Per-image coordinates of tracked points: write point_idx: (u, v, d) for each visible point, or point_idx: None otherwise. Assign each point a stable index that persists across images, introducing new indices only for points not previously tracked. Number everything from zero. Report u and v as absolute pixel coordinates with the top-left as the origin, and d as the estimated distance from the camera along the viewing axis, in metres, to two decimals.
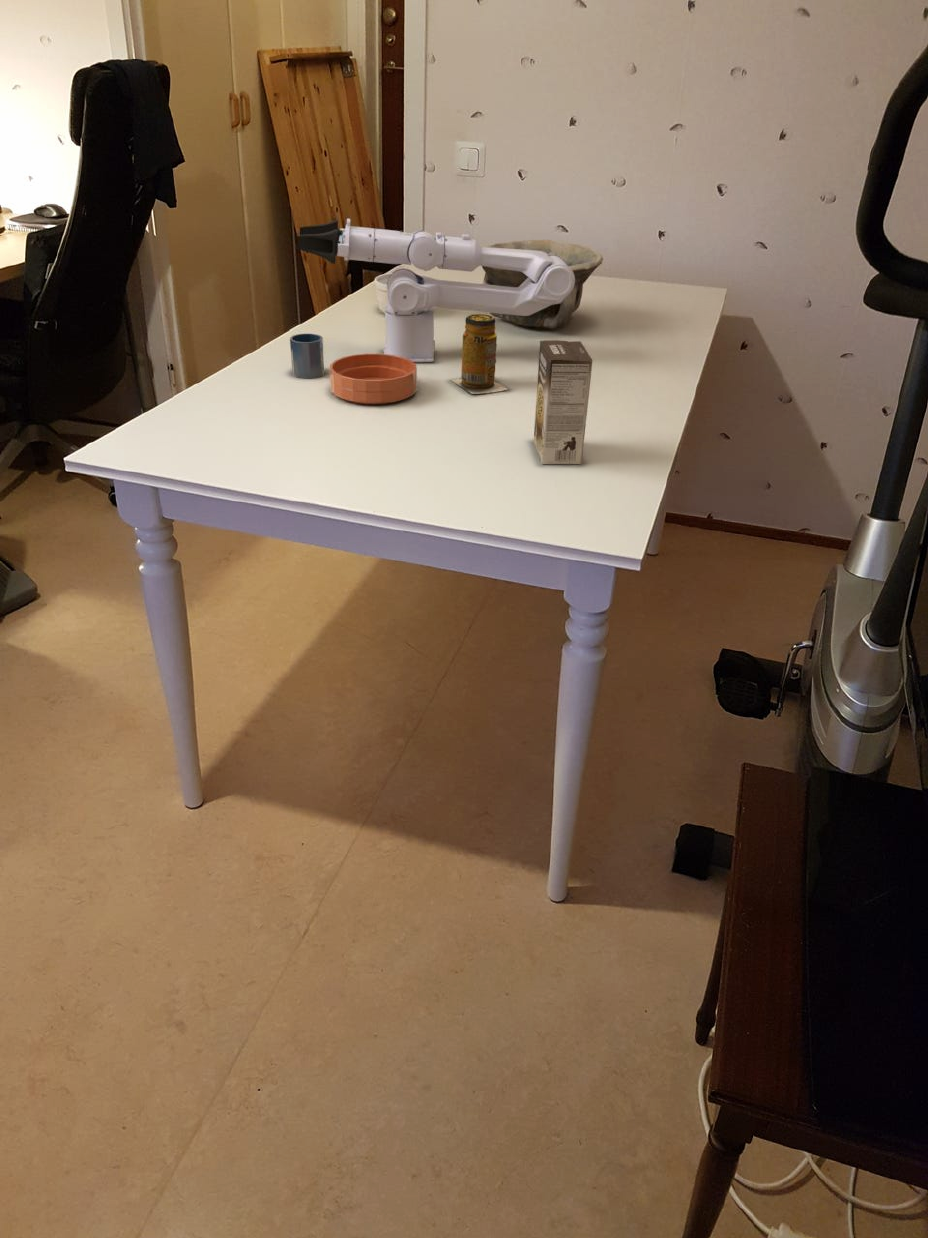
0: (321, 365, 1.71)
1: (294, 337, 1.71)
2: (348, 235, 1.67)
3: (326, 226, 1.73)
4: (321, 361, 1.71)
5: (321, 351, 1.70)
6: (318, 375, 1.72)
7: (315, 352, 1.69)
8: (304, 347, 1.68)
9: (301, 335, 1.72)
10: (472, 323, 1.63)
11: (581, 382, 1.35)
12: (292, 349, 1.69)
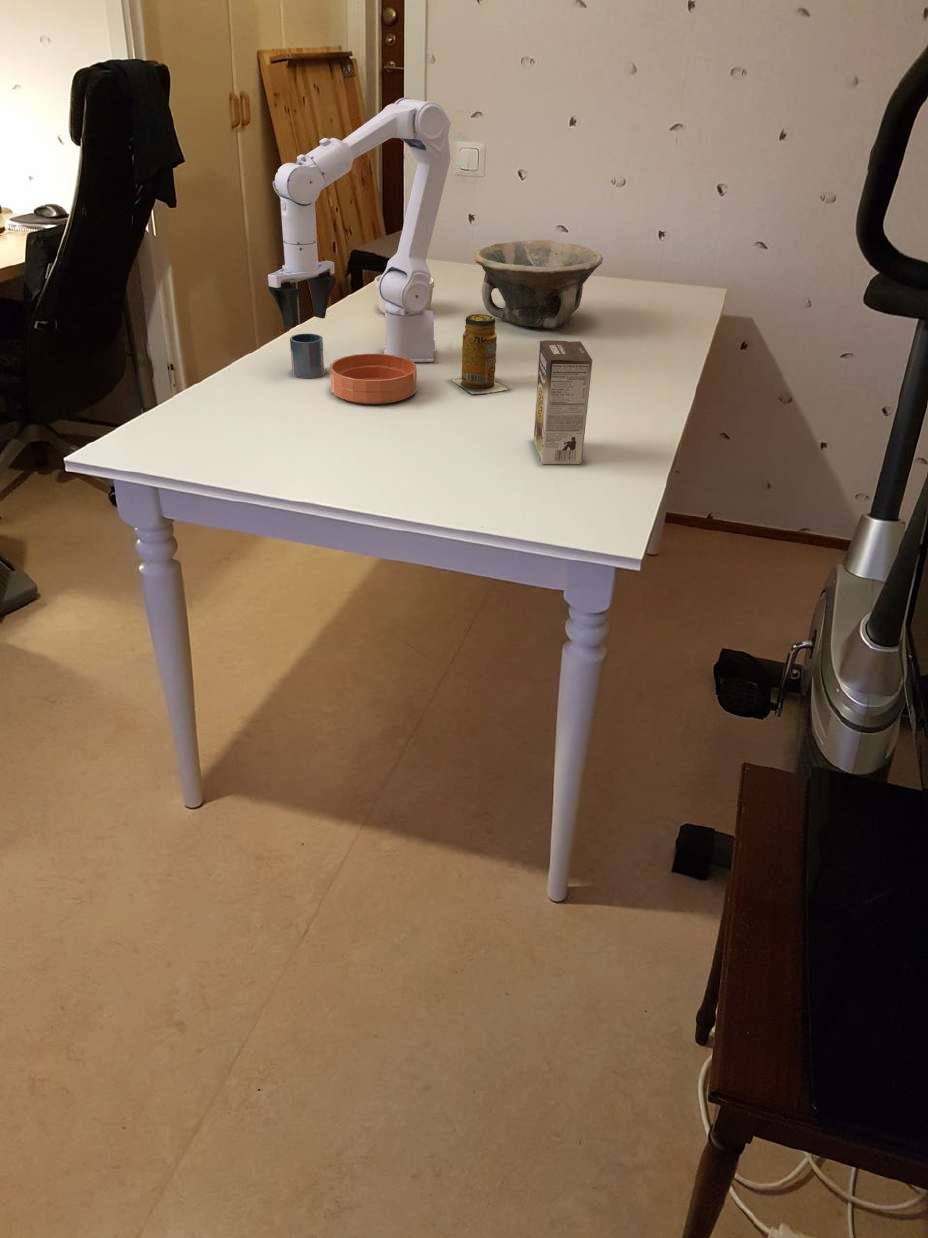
0: (321, 365, 1.71)
1: (294, 337, 1.71)
2: None
3: (310, 288, 1.69)
4: (321, 361, 1.71)
5: (321, 351, 1.70)
6: (318, 375, 1.72)
7: (315, 352, 1.69)
8: (304, 347, 1.68)
9: (301, 335, 1.72)
10: (472, 323, 1.63)
11: (581, 382, 1.35)
12: (292, 349, 1.69)
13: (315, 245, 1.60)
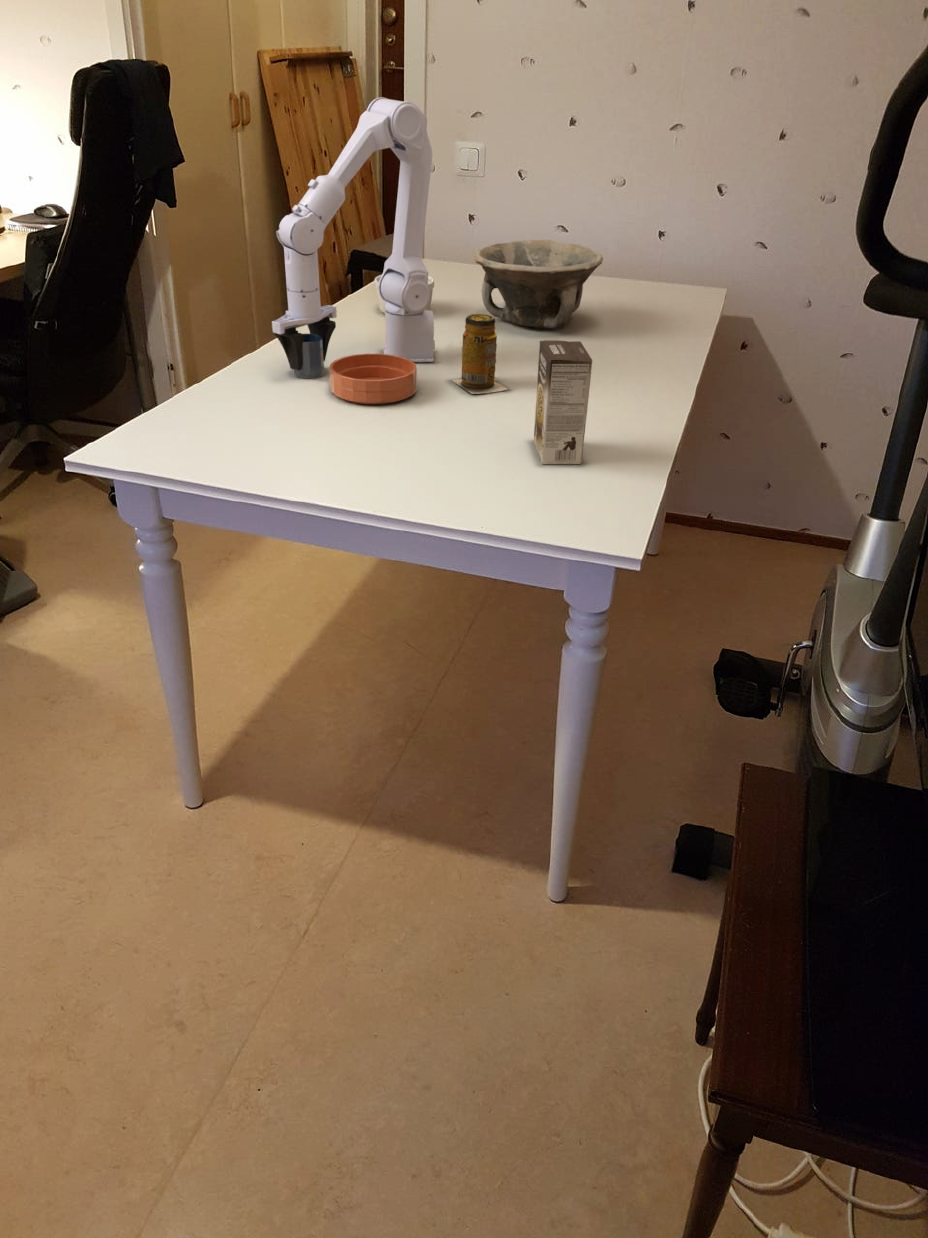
0: (321, 365, 1.71)
1: None
2: (282, 317, 1.66)
3: (311, 332, 1.73)
4: (321, 361, 1.71)
5: (321, 351, 1.70)
6: (318, 375, 1.72)
7: (315, 352, 1.69)
8: (304, 347, 1.68)
9: None
10: (472, 323, 1.63)
11: (581, 382, 1.35)
12: None
13: (318, 292, 1.65)
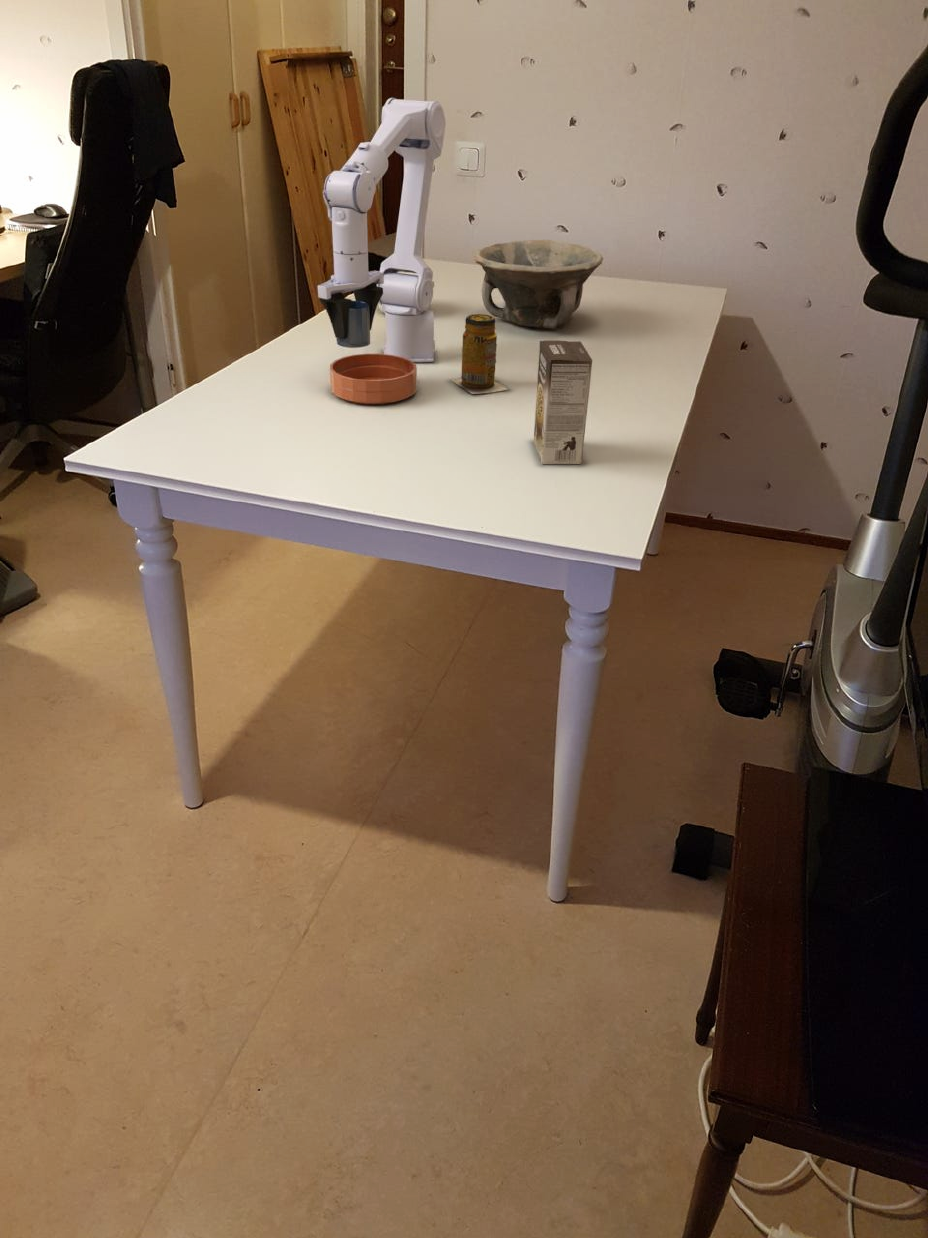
0: (367, 334, 1.62)
1: None
2: (328, 281, 1.56)
3: (356, 299, 1.63)
4: (367, 329, 1.61)
5: (368, 319, 1.61)
6: (364, 344, 1.62)
7: (361, 319, 1.59)
8: (351, 314, 1.58)
9: None
10: (472, 323, 1.63)
11: (581, 382, 1.35)
12: None
13: (366, 255, 1.55)
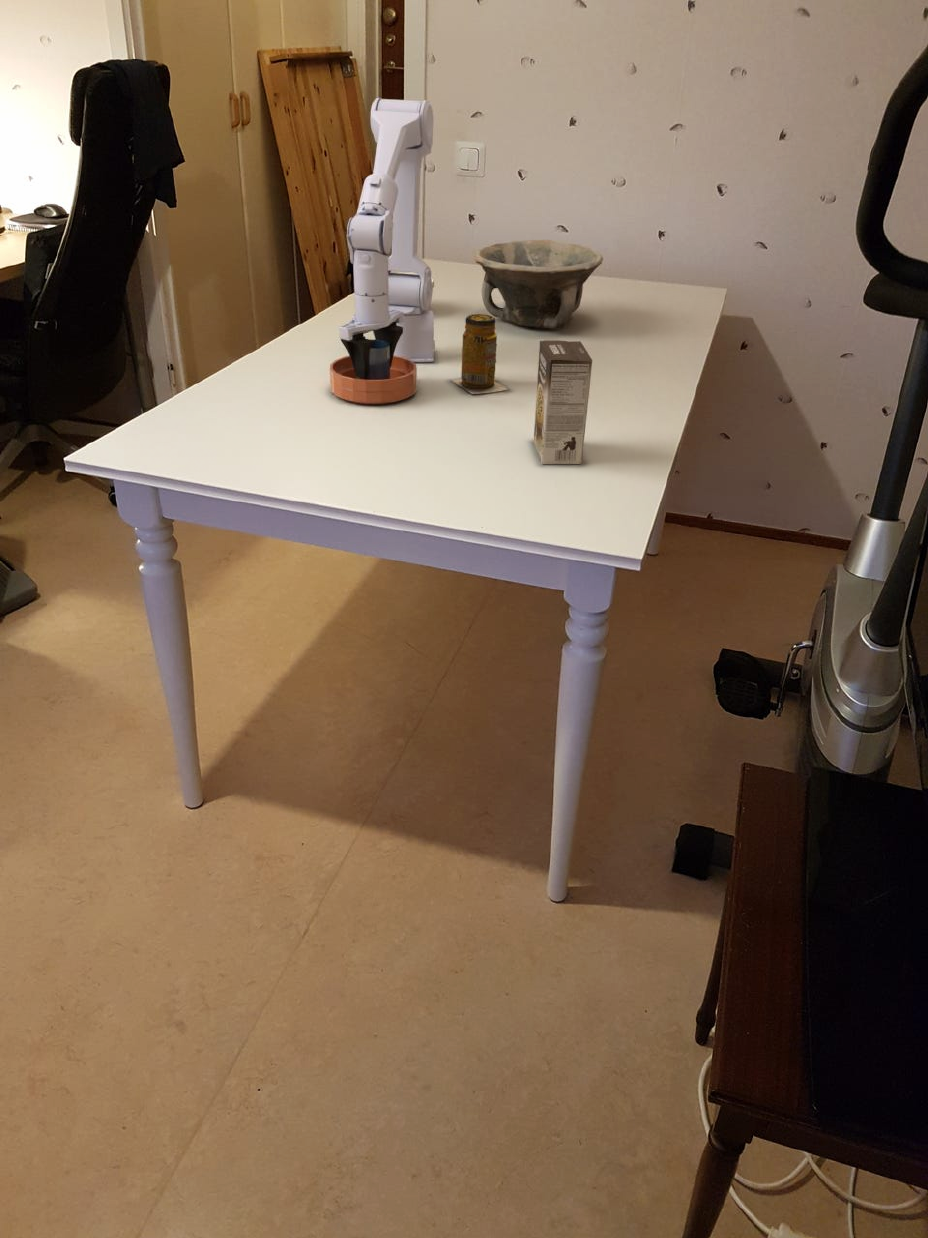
0: (387, 373, 1.63)
1: None
2: None
3: (376, 338, 1.64)
4: (388, 368, 1.63)
5: (388, 358, 1.62)
6: None
7: (382, 359, 1.61)
8: (371, 354, 1.59)
9: None
10: (472, 323, 1.63)
11: (581, 382, 1.35)
12: None
13: (387, 296, 1.56)
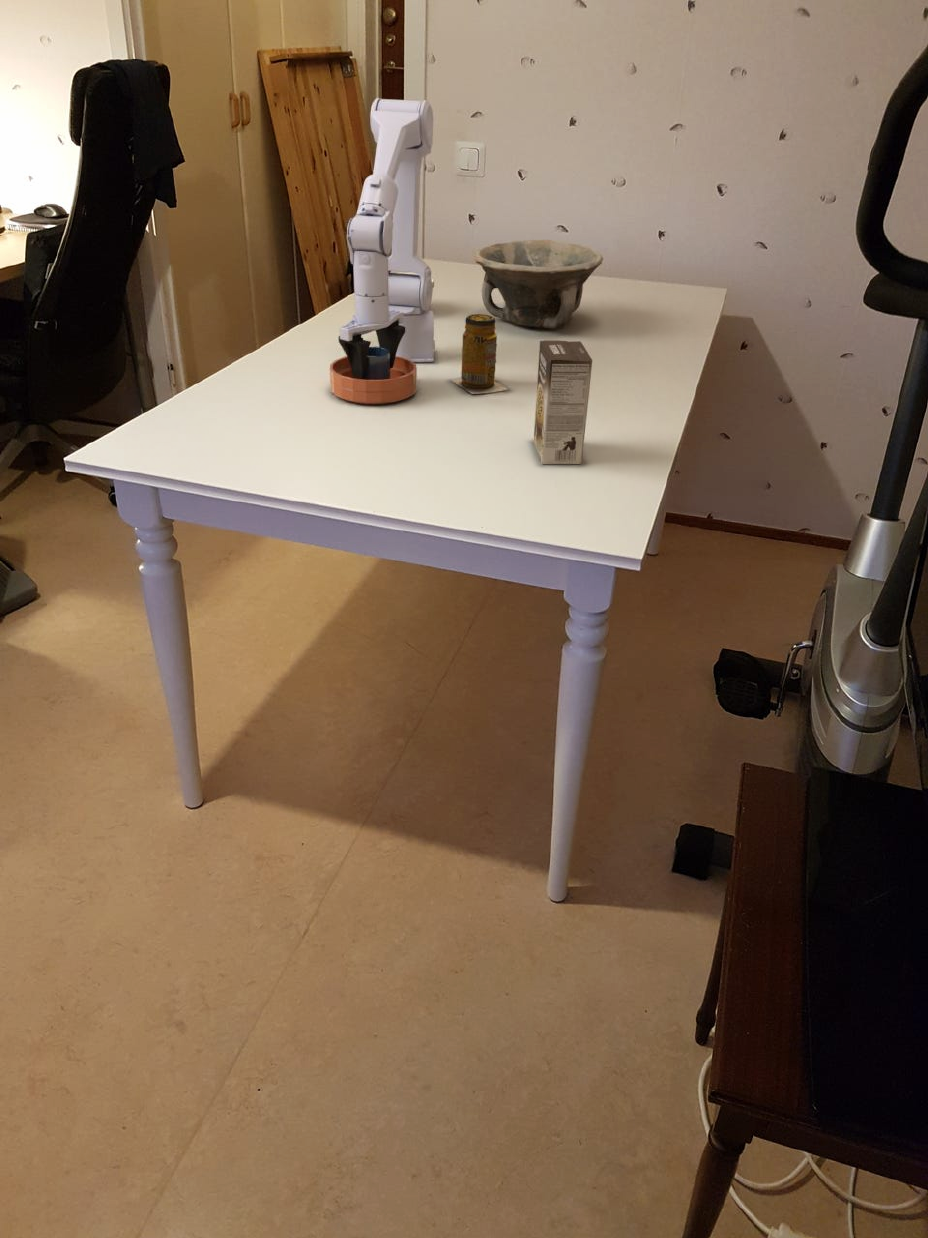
0: None
1: None
2: None
3: (379, 338, 1.65)
4: (388, 376, 1.63)
5: (388, 365, 1.63)
6: None
7: (382, 366, 1.61)
8: (372, 361, 1.60)
9: None
10: (472, 323, 1.63)
11: (581, 382, 1.35)
12: None
13: (387, 297, 1.56)
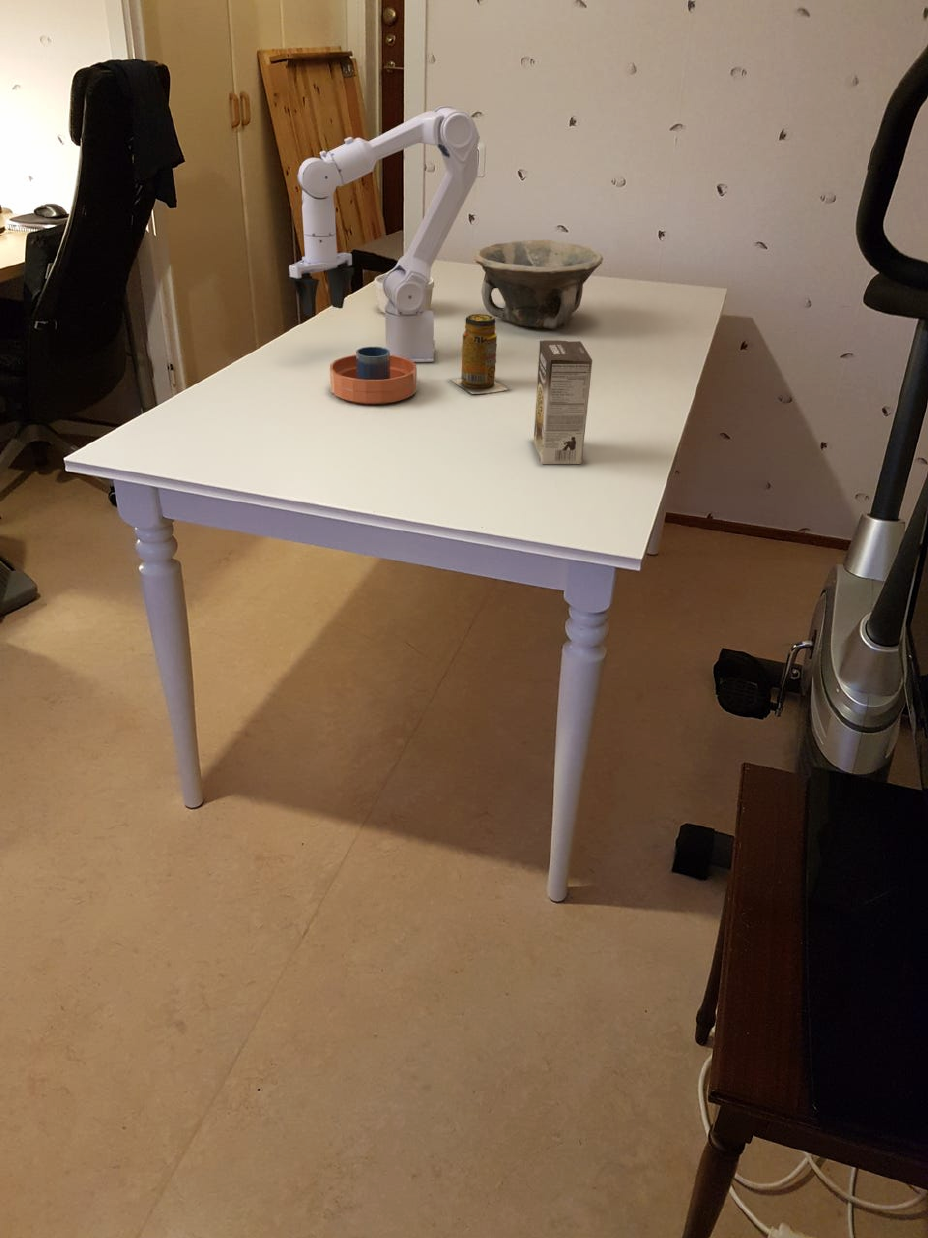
0: None
1: (360, 351, 1.63)
2: (299, 262, 1.68)
3: (329, 279, 1.75)
4: (388, 376, 1.63)
5: (388, 365, 1.63)
6: None
7: (382, 366, 1.61)
8: (372, 361, 1.60)
9: (367, 348, 1.64)
10: (472, 323, 1.63)
11: (581, 382, 1.35)
12: (358, 363, 1.62)
13: (334, 237, 1.67)
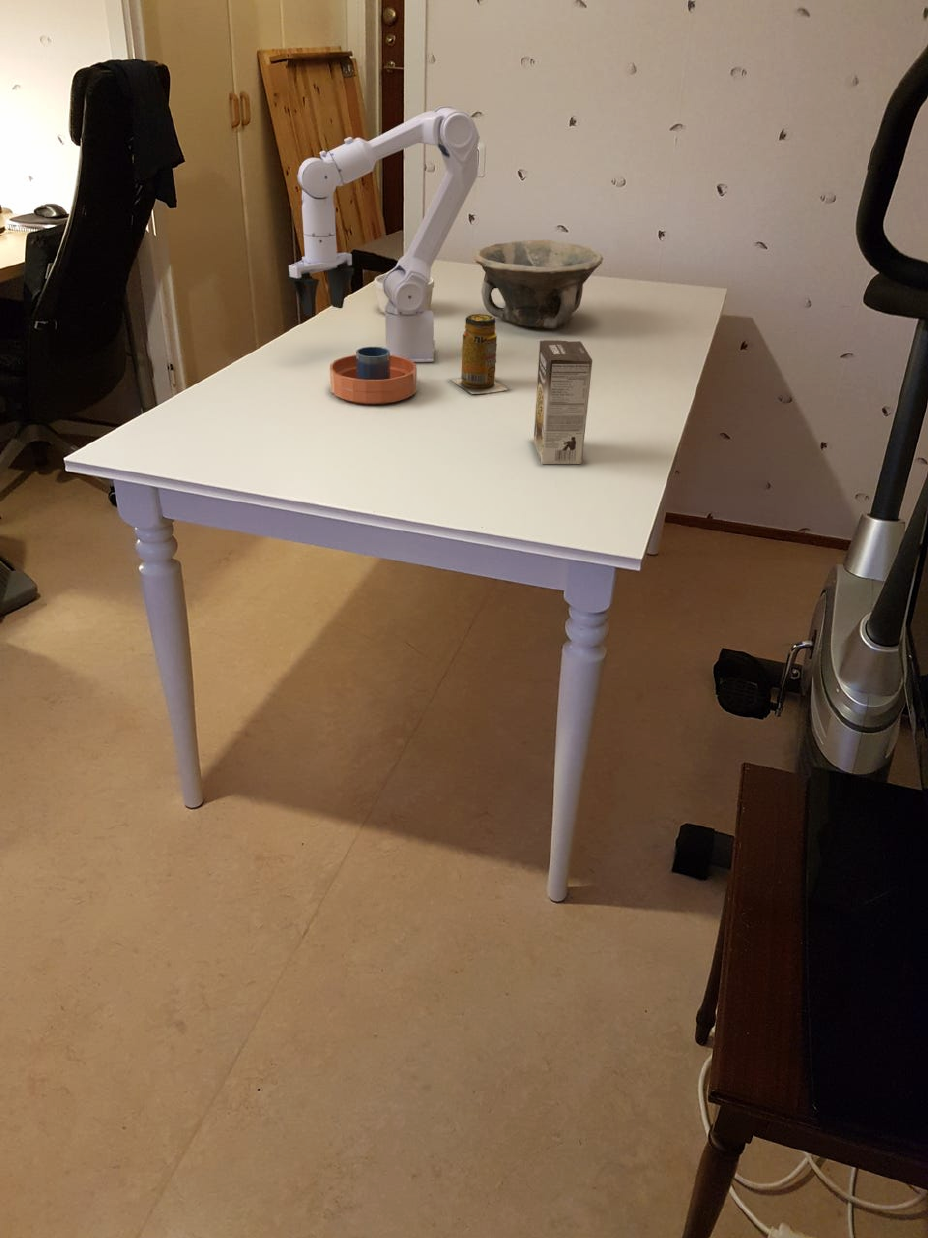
0: None
1: (360, 351, 1.63)
2: (299, 262, 1.68)
3: (329, 279, 1.75)
4: (388, 376, 1.63)
5: (388, 365, 1.63)
6: None
7: (382, 366, 1.61)
8: (372, 361, 1.60)
9: (367, 348, 1.64)
10: (472, 323, 1.63)
11: (581, 382, 1.35)
12: (358, 363, 1.62)
13: (334, 237, 1.67)
